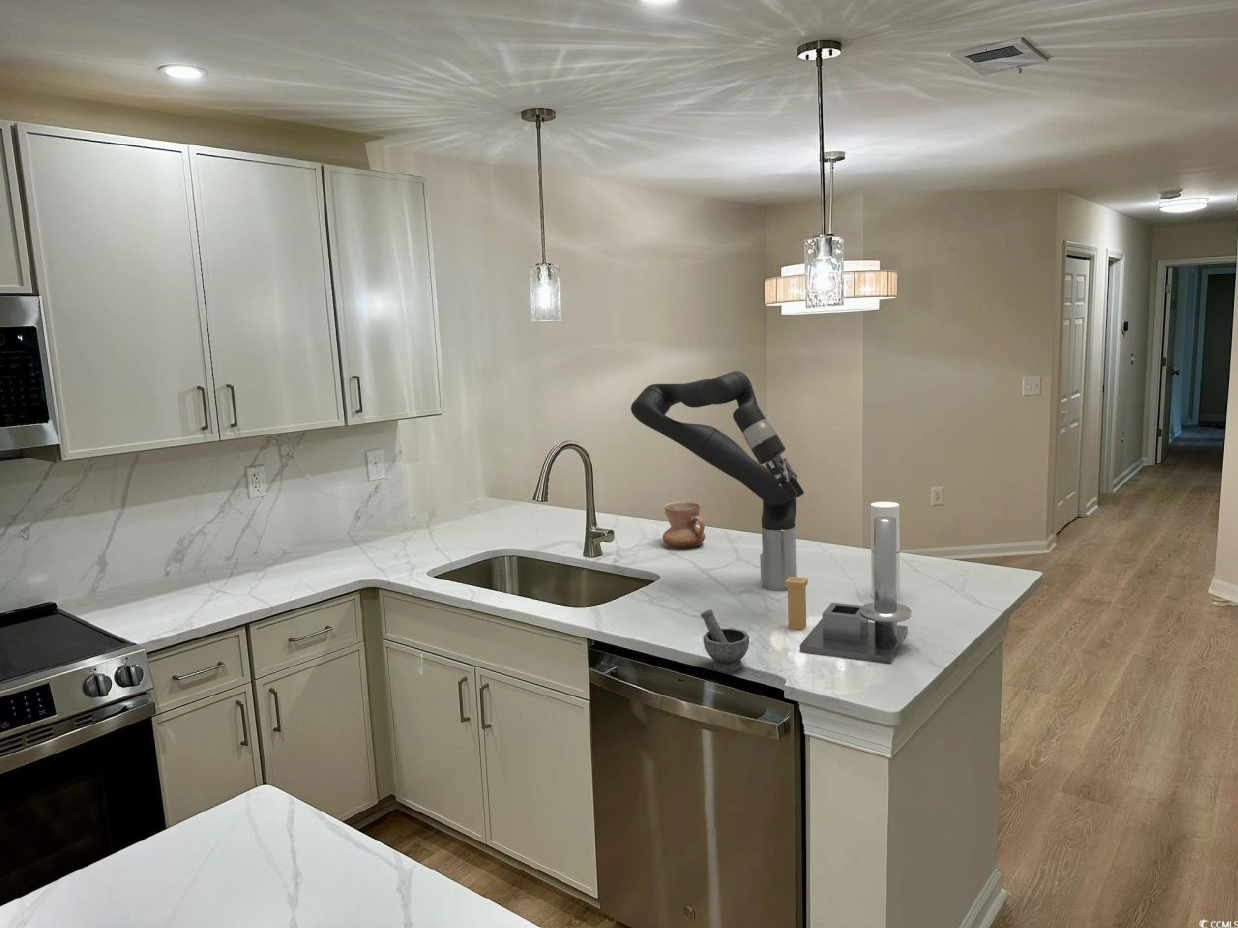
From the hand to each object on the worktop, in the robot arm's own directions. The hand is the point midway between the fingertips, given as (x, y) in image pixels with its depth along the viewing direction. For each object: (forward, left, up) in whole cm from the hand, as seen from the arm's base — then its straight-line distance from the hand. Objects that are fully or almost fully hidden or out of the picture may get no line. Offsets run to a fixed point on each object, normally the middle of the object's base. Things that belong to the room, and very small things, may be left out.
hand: (797, 496), depth 213 cm
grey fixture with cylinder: (+18, -14, -31) cm, 38 cm away
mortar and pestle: (-6, -37, -31) cm, 49 cm away
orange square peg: (+2, -9, -31) cm, 32 cm away
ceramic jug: (-56, +54, -31) cm, 84 cm away
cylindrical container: (+17, +21, -31) cm, 41 cm away
